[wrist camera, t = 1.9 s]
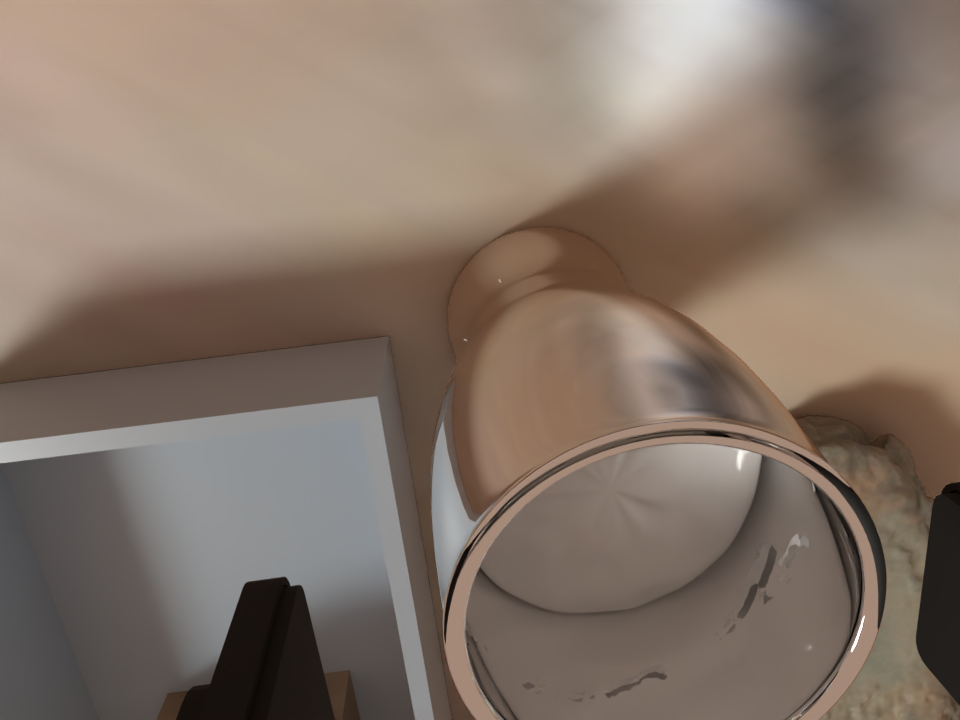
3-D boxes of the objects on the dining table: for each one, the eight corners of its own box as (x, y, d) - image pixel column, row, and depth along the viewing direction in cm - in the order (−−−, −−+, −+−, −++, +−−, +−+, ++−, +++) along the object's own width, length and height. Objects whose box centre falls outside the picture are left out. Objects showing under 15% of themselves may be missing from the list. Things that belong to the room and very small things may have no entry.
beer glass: (664, 227, 24) (976, 438, 10) (619, 423, 27) (822, 813, 12) (447, 197, 23) (462, 379, 9) (421, 401, 26) (402, 788, 12)
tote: (388, 336, 25) (377, 396, 20) (466, 811, 33) (471, 934, 28) (-35, 387, 25) (-144, 460, 20) (145, 853, 33) (96, 983, 28)
